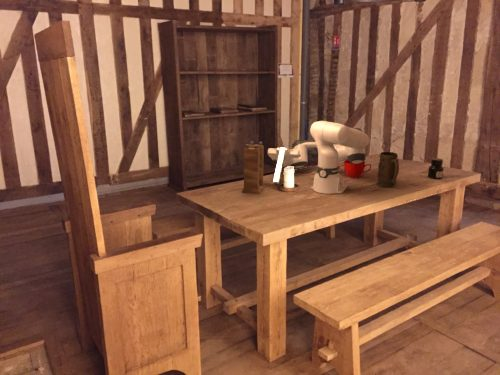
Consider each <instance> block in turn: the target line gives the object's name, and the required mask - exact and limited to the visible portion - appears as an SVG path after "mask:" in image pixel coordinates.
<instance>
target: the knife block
mask: <svg viewBox="0 0 500 375" xmlns="http://www.w3.org/2000/svg"><path fill="white" fill-rule="evenodd" d="M254 143H255V142H254V140H253V141H252V140H251V141H250V142H249V143H247V144H245V147H244V148H243V189H242V190H241V193H243V194H253V195H255V194H256V195H260V194H261V193H262V191H263V190H265V187H266V186H265V185H264V164H265V163H264V162H265V160H264V155H265V154H264V150H265V149H264V147H265V145H263V141H259V142H258V144H254Z"/></svg>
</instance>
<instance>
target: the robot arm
mask: <svg viewBox="0 0 500 375" xmlns="http://www.w3.org/2000/svg"><path fill="white" fill-rule="evenodd" d="M309 130H310V131H309V132H310V135H311V137H312V138H313V140H311V139H310V140H306V139H305V140H304V139H296V140H294V142H293V143H292V144H291V149H289V148H288V147H285V151H286V152H285V157H284V162H283V168H285V167H287V166H294V168H293V169H297V170H299V169H302V168H305V167H306V166H307V165H308V164H309V163H308V162H309V157H308V149H309V148H316V149H317V153H318V154H317V166H316V173H315V174H314V179H313V185H311V187H310V188H311V189H313V190H314V192H316V193H319V194H328V195H329V194H342V193H344V191H345V190H346V189H347V188H348V186H347V184H344V177H343V175H341V174H340V169H341V165H339V162H344V161H345V160H349V162H351V163H354V164H359V163H362V162H365V160H366V158H367V155H366V148H367V146H368V145H369V144H370V137H369V135H368V134H367V133H365V131H364V130H362V129H361V128H359V127H349V126H347V125H345V124H342V123H339V122H332V121H326V120H319V121H314V122H313V123H312V124H311V126H310V129H309ZM280 148H281V147H276V148H271V147H270V148H268V149H267V155H268V157H270V159H271V160H272V161H276V162H278V157H279V152H280Z"/></svg>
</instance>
